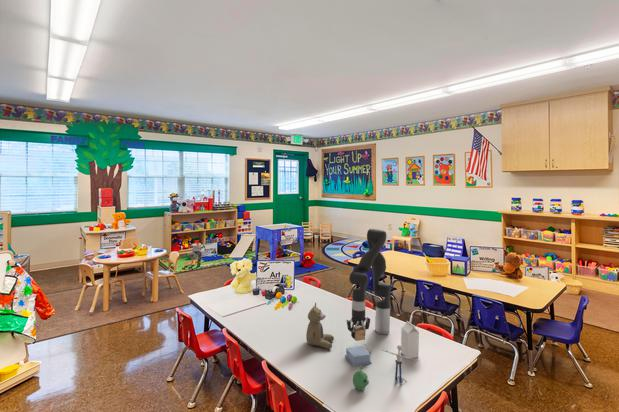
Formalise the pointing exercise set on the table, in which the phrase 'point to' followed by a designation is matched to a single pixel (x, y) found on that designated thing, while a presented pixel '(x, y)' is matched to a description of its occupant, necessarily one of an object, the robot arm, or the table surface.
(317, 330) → the bear
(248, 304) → the table surface
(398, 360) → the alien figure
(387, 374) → the table surface
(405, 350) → the milk carton
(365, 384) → the alien toy
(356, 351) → the pedestal
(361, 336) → the walnut block
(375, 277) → the robot arm
